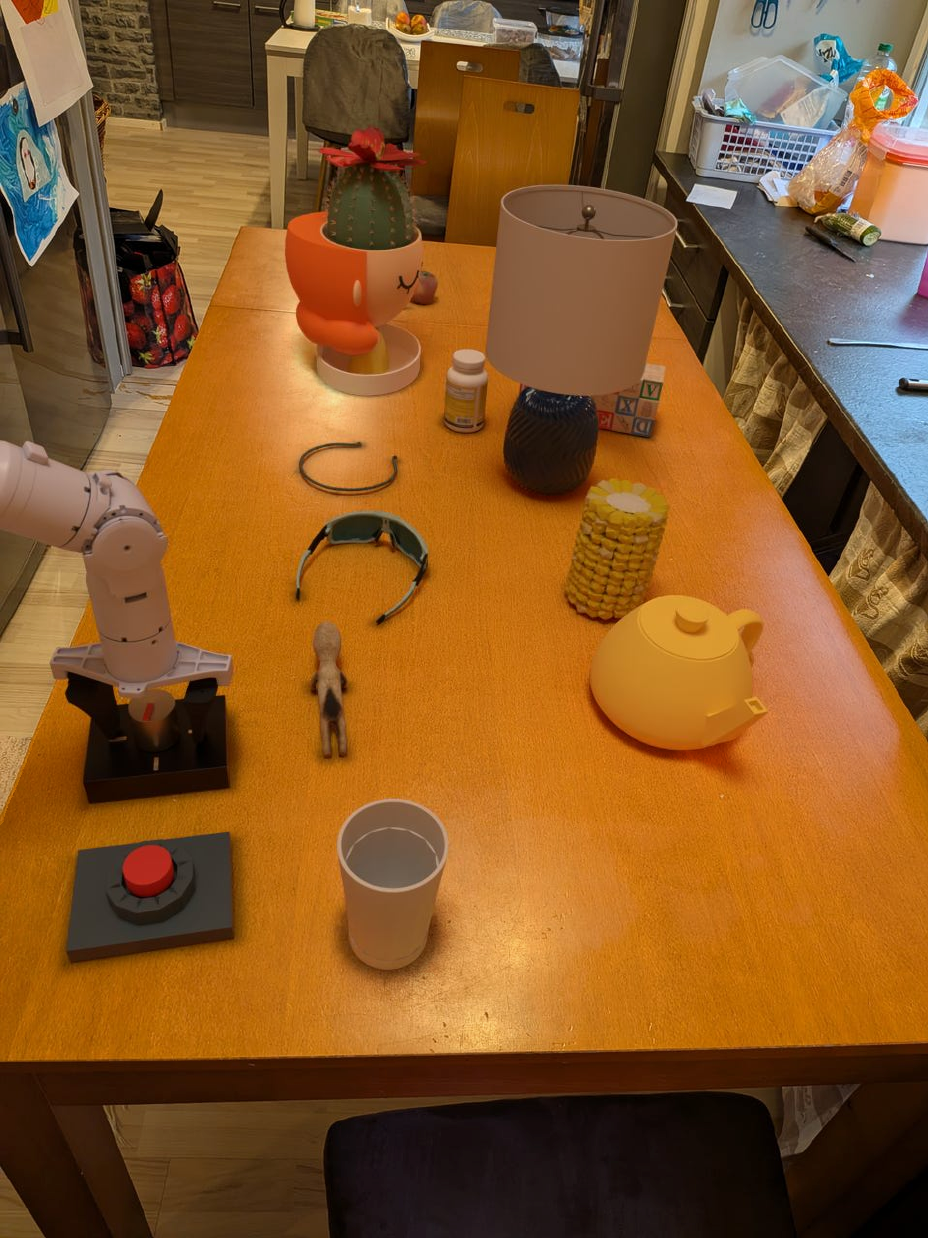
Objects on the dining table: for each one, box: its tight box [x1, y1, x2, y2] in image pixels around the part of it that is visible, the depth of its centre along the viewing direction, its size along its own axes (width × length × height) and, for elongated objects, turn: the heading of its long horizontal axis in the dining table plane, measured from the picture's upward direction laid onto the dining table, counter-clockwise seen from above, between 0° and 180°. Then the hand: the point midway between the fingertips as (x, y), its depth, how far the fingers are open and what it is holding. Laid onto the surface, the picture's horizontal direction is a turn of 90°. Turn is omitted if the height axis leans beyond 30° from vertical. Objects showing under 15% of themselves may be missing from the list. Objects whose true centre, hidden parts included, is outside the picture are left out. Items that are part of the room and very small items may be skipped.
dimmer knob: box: [127, 688, 181, 752], centre depth 80 cm, size 4×4×4 cm
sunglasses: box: [295, 509, 429, 625], centre depth 105 cm, size 14×15×5 cm
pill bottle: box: [443, 348, 489, 434], centre depth 133 cm, size 6×6×11 cm
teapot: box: [588, 594, 769, 751], centre depth 89 cm, size 20×19×13 cm
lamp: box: [485, 184, 678, 497], centre depth 114 cm, size 20×20×37 cm
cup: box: [336, 798, 450, 971], centre depth 68 cm, size 8×8×12 cm
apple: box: [410, 270, 439, 305], centre depth 171 cm, size 6×8×6 cm
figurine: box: [309, 621, 348, 758], centre depth 89 cm, size 4×4×15 cm
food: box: [564, 477, 670, 621], centre depth 103 cm, size 15×12×10 cm
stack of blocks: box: [518, 363, 666, 438], centre depth 138 cm, size 21×6×12 cm, turn 76°
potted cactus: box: [284, 125, 427, 397], centre depth 138 cm, size 22×22×35 cm
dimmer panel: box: [82, 694, 231, 805], centre depth 82 cm, size 12×9×3 cm
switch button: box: [123, 845, 174, 897], centre depth 70 cm, size 4×4×2 cm
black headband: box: [298, 441, 398, 493], centre depth 124 cm, size 14×13×1 cm
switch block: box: [65, 831, 235, 963], centre depth 71 cm, size 12×9×4 cm
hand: (157, 732), depth 81 cm, fingers open, 7 cm apart
